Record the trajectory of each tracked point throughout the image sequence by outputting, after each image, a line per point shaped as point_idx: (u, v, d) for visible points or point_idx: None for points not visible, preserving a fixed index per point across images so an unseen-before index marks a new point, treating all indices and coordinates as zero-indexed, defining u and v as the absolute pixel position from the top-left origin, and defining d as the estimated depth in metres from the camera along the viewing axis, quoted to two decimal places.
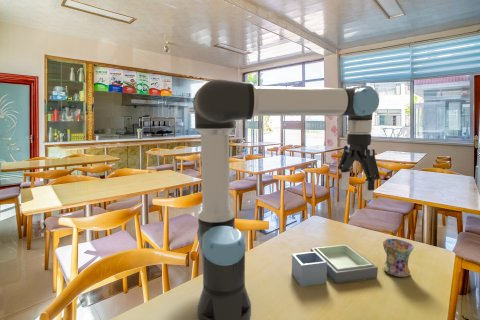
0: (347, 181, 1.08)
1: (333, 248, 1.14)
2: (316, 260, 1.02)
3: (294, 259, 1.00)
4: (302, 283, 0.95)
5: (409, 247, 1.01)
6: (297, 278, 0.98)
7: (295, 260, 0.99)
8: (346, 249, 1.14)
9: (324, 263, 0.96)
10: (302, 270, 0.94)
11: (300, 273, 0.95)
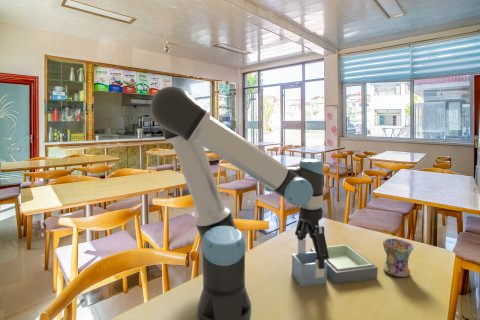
0: (303, 249, 1.05)
1: (333, 248, 1.14)
2: None
3: (294, 259, 1.00)
4: (302, 283, 0.95)
5: (409, 247, 1.01)
6: (297, 278, 0.98)
7: (295, 260, 0.99)
8: (346, 249, 1.14)
9: (324, 263, 0.96)
10: (302, 270, 0.94)
11: (300, 273, 0.95)
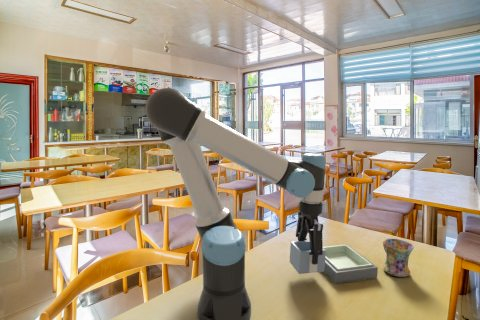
0: None
1: (333, 248, 1.14)
2: None
3: (293, 247, 0.99)
4: (300, 270, 0.94)
5: (409, 247, 1.01)
6: (295, 265, 0.97)
7: (294, 247, 0.98)
8: (346, 249, 1.14)
9: (323, 251, 0.95)
10: (301, 257, 0.94)
11: (298, 260, 0.94)
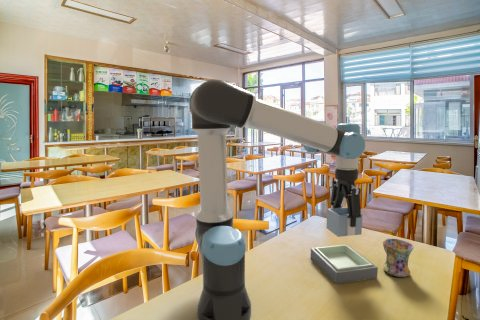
0: None
1: (333, 248, 1.14)
2: None
3: (330, 213, 1.05)
4: (339, 233, 1.00)
5: (409, 247, 1.01)
6: (333, 230, 1.03)
7: (331, 213, 1.04)
8: (346, 249, 1.14)
9: None
10: (340, 221, 0.99)
11: (337, 224, 1.00)
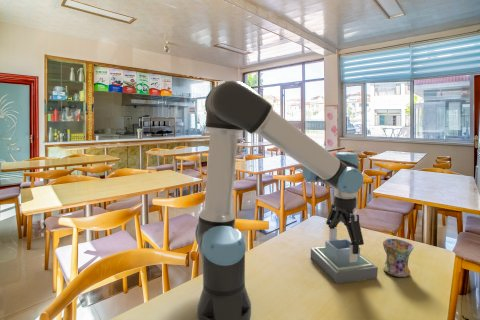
0: (335, 237, 1.12)
1: None
2: (348, 246, 1.09)
3: (328, 245, 1.07)
4: None
5: (409, 247, 1.01)
6: None
7: (329, 246, 1.06)
8: None
9: None
10: (338, 255, 1.01)
11: (335, 258, 1.02)
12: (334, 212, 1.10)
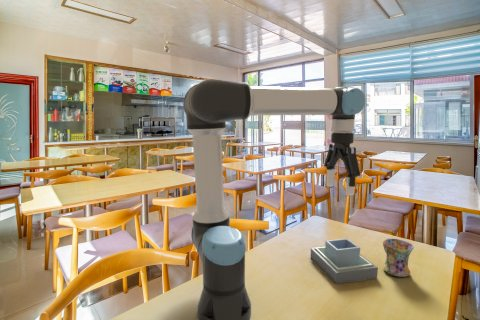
0: (332, 178, 1.12)
1: None
2: (348, 246, 1.09)
3: (328, 245, 1.07)
4: None
5: (409, 247, 1.01)
6: None
7: (329, 246, 1.06)
8: None
9: (357, 248, 1.02)
10: (338, 255, 1.01)
11: (335, 258, 1.02)
12: (332, 152, 1.10)
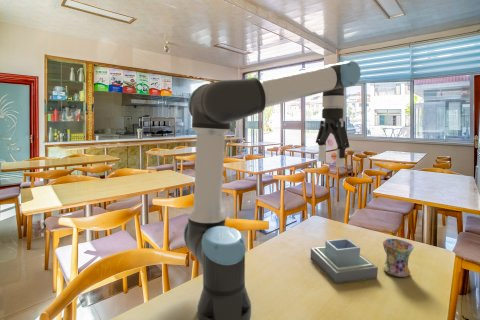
0: (324, 153, 1.18)
1: None
2: (348, 246, 1.09)
3: (328, 245, 1.07)
4: None
5: (409, 247, 1.01)
6: None
7: (329, 246, 1.06)
8: None
9: (357, 248, 1.02)
10: (338, 255, 1.01)
11: (335, 258, 1.02)
12: (323, 128, 1.16)
